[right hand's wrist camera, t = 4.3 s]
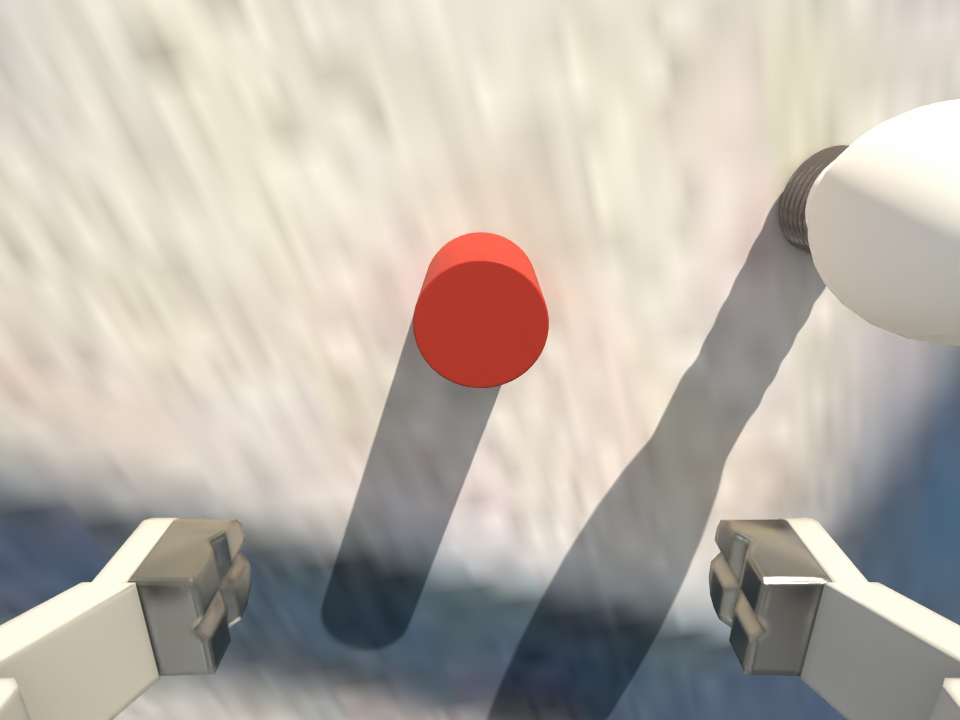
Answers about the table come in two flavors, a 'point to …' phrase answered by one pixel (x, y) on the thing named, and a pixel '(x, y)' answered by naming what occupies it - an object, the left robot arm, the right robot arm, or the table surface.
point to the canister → (480, 312)
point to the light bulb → (887, 222)
